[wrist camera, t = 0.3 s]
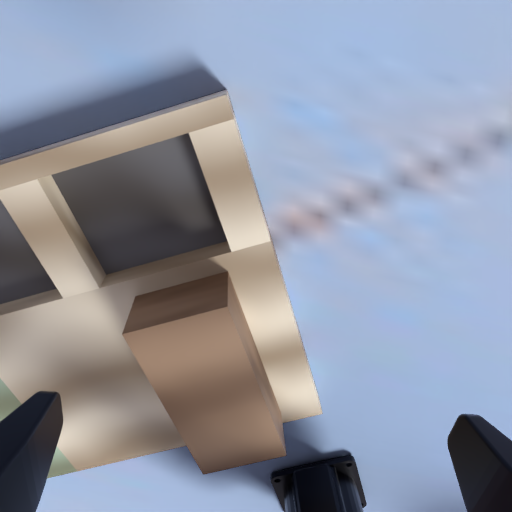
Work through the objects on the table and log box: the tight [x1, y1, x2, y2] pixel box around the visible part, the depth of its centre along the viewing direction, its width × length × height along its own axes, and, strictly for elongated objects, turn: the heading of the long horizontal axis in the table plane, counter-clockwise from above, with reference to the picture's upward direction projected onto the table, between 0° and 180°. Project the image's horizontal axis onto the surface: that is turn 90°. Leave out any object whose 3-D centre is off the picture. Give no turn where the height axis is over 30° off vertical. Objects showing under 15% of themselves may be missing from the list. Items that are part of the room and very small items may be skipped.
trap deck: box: [0, 90, 323, 478], centre depth 23 cm, size 20×22×2 cm
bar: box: [122, 271, 287, 474], centre depth 22 cm, size 11×5×3 cm, turn 16°
